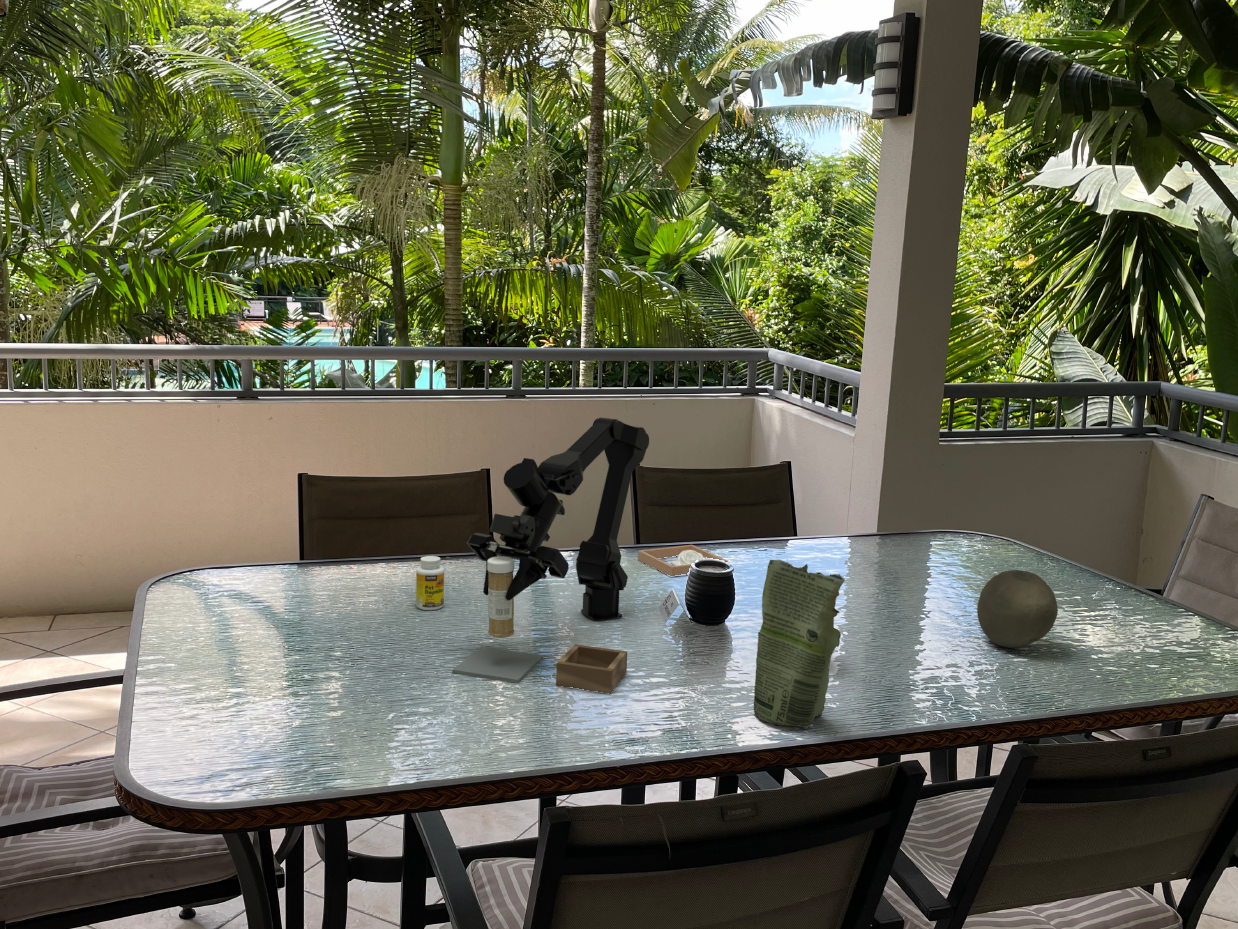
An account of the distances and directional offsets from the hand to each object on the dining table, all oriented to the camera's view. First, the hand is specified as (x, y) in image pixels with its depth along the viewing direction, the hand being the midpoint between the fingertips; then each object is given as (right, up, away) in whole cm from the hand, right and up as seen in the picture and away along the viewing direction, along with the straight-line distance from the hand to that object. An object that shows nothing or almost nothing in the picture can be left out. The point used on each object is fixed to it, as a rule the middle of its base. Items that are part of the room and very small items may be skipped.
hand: (495, 596), depth 169 cm
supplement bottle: (-18, -7, +33) cm, 38 cm away
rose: (+38, -3, +69) cm, 79 cm away
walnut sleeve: (+16, -14, -1) cm, 22 cm away
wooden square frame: (+36, -2, +70) cm, 79 cm away
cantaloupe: (+97, -13, +22) cm, 100 cm away
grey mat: (0, -12, +3) cm, 13 cm away
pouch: (+48, -17, -13) cm, 53 cm away
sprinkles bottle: (+1, -7, +2) cm, 7 cm away
